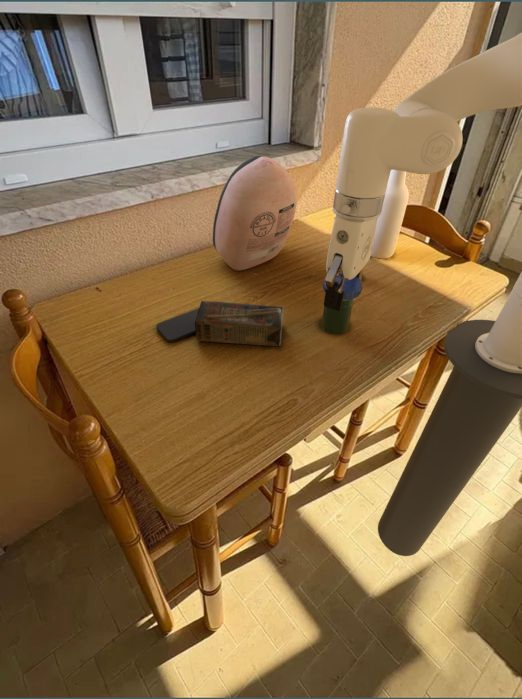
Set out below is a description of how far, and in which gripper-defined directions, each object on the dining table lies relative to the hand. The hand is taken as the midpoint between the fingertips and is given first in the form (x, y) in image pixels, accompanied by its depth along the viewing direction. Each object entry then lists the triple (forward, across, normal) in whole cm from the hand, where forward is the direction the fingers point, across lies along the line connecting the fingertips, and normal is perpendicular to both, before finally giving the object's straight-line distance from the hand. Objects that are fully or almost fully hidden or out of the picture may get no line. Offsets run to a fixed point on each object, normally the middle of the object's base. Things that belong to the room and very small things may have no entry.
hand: (340, 297), depth 71 cm
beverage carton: (+16, -3, +21) cm, 26 cm away
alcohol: (+16, +54, +7) cm, 57 cm away
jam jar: (+16, +12, +4) cm, 20 cm away
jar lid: (-3, 0, 0) cm, 3 cm away
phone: (+16, -6, +33) cm, 37 cm away
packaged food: (+16, +27, +36) cm, 48 cm away
